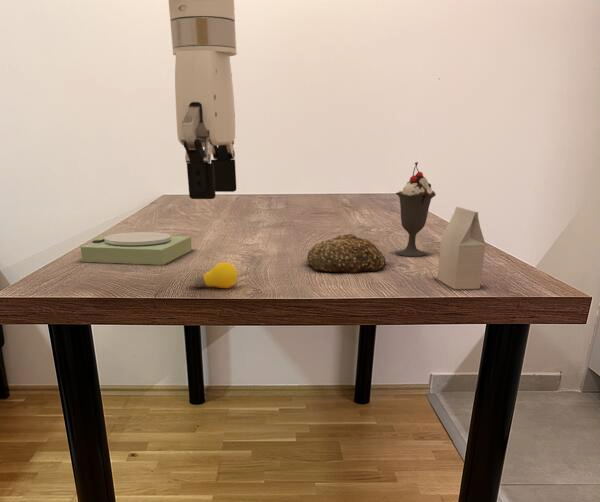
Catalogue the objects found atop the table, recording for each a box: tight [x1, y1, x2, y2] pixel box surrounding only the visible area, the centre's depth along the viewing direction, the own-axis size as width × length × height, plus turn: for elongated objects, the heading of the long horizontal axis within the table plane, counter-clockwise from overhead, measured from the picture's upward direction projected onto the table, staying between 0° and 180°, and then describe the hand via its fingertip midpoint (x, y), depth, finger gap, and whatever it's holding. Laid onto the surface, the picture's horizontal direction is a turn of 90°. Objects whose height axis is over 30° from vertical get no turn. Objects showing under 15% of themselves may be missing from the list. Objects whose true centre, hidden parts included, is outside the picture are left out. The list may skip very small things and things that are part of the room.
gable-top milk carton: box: [436, 206, 486, 290], centre depth 88 cm, size 4×7×10 cm, turn 9°
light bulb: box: [194, 261, 238, 289], centre depth 87 cm, size 3×6×4 cm, turn 90°
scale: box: [80, 231, 193, 266], centre depth 109 cm, size 14×14×3 cm
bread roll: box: [306, 233, 387, 274], centre depth 101 cm, size 13×12×5 cm
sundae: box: [395, 161, 437, 257], centre depth 109 cm, size 7×7×15 cm
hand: (214, 194), depth 82 cm, fingers open, 9 cm apart
